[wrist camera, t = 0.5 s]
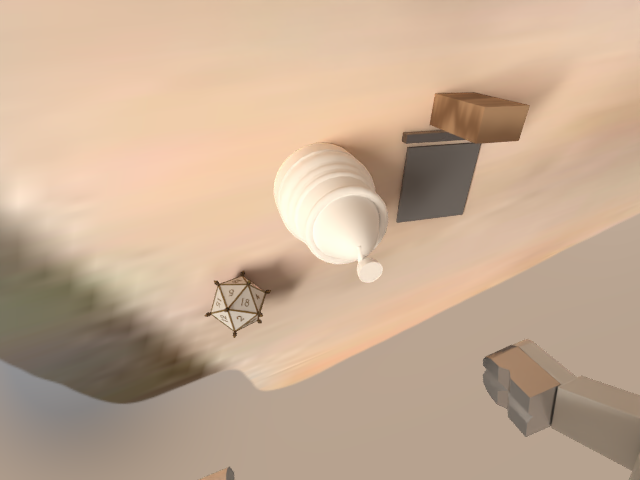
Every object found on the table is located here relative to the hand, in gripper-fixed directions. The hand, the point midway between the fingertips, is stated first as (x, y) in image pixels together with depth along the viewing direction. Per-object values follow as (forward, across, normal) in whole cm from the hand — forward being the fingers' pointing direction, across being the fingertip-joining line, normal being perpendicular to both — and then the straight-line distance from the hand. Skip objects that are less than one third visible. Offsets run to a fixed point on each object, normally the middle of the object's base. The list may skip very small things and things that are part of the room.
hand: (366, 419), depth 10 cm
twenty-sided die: (+40, +8, +18) cm, 45 cm away
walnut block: (+37, -29, +1) cm, 47 cm away
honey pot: (+39, -8, +7) cm, 40 cm away
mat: (+38, -26, +12) cm, 48 cm away
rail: (+38, -28, +4) cm, 47 cm away
